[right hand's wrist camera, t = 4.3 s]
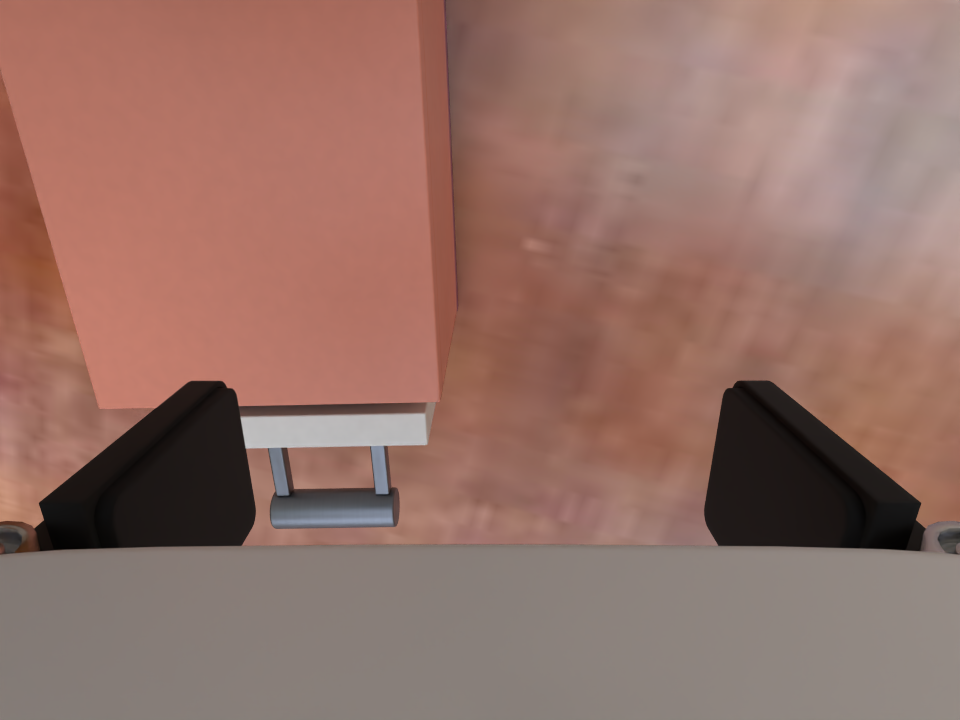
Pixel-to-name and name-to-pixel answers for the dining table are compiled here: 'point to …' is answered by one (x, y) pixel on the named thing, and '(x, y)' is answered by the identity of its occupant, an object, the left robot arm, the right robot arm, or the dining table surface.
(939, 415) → the dining table surface
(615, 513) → the dining table surface
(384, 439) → the drawer
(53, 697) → the right robot arm
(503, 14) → the dining table surface
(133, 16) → the cabinet
